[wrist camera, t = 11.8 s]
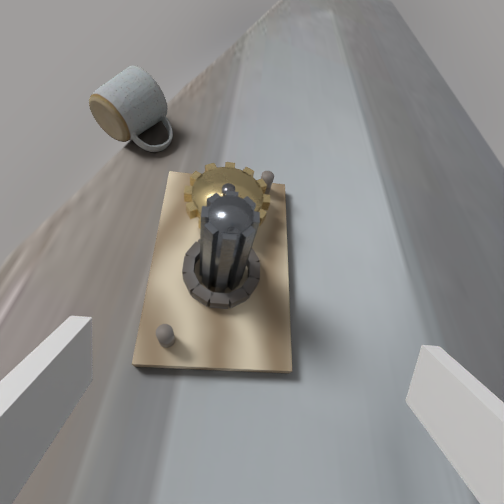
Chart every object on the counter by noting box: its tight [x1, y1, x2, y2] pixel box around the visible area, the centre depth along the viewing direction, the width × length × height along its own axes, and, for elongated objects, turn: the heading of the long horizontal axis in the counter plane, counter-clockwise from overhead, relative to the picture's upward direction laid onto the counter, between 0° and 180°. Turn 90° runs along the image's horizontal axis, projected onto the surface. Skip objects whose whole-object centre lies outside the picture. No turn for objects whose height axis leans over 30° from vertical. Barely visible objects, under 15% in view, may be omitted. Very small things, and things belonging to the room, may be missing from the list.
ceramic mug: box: [89, 66, 173, 152], centre depth 45 cm, size 11×8×8 cm
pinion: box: [199, 191, 260, 293], centre depth 32 cm, size 5×5×12 cm
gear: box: [184, 162, 270, 229], centre depth 39 cm, size 10×10×5 cm
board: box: [132, 171, 292, 373], centre depth 37 cm, size 16×25×4 cm, turn 178°
